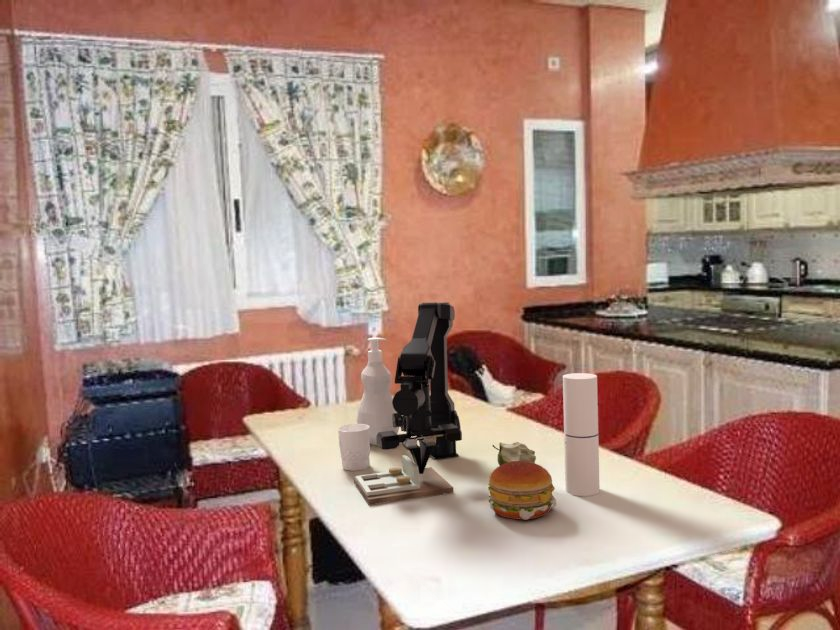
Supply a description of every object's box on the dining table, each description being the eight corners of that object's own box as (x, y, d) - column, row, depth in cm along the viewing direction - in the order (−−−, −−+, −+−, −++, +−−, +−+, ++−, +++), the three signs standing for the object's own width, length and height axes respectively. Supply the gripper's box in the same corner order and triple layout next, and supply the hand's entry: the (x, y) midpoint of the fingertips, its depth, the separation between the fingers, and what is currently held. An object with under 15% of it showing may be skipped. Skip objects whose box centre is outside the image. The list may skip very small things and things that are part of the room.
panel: (405, 472, 167) (404, 454, 167) (420, 488, 156) (419, 468, 155) (355, 479, 164) (354, 460, 163) (366, 495, 152) (365, 475, 152)
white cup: (366, 472, 173) (364, 431, 172) (335, 471, 175) (333, 431, 174) (375, 462, 181) (373, 423, 180) (345, 461, 183) (343, 423, 182)
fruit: (491, 478, 169) (486, 444, 170) (512, 471, 176) (508, 438, 177) (523, 477, 163) (518, 442, 164) (544, 470, 170) (539, 436, 171)
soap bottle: (409, 445, 195) (404, 339, 193) (369, 451, 191) (363, 343, 189) (388, 432, 211) (383, 333, 208) (351, 437, 207) (345, 337, 204)
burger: (486, 501, 150) (484, 454, 149) (551, 499, 149) (549, 452, 149) (490, 525, 137) (488, 474, 136) (561, 523, 136) (560, 472, 135)
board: (431, 472, 171) (430, 458, 171) (453, 492, 156) (452, 477, 155) (353, 482, 166) (352, 468, 165) (368, 505, 150) (367, 489, 150)
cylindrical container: (580, 498, 149) (577, 380, 147) (558, 489, 155) (555, 375, 153) (606, 491, 152) (604, 376, 150) (584, 483, 158) (581, 371, 156)
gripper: (445, 395, 171) (448, 459, 172) (369, 403, 165) (372, 469, 167) (461, 404, 160) (464, 471, 161) (380, 413, 155) (384, 483, 156)
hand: (420, 473), depth 162 cm, fingers closed
